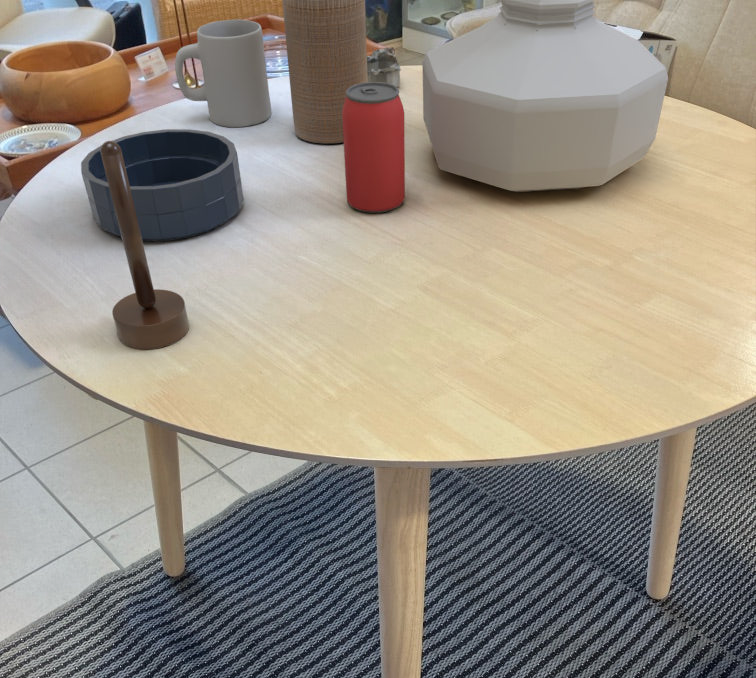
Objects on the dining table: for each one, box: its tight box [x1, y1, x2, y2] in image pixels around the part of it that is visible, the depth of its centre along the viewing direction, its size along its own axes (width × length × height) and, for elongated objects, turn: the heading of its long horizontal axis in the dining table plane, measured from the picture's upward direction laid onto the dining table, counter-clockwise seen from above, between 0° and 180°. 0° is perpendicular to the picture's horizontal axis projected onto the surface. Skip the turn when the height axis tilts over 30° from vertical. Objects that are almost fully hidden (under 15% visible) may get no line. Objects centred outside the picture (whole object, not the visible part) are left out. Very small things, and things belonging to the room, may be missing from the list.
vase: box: [281, 0, 368, 145], centre depth 104 cm, size 10×10×28 cm
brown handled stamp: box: [100, 140, 190, 350], centre depth 72 cm, size 6×6×17 cm
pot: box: [422, 0, 669, 193], centre depth 98 cm, size 28×28×19 cm
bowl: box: [80, 128, 245, 242], centre depth 95 cm, size 17×17×6 cm
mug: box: [174, 19, 272, 128], centre depth 114 cm, size 12×8×11 cm
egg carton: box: [367, 46, 402, 88], centre depth 125 cm, size 11×8×4 cm
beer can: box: [342, 82, 406, 214], centre depth 93 cm, size 7×7×12 cm
